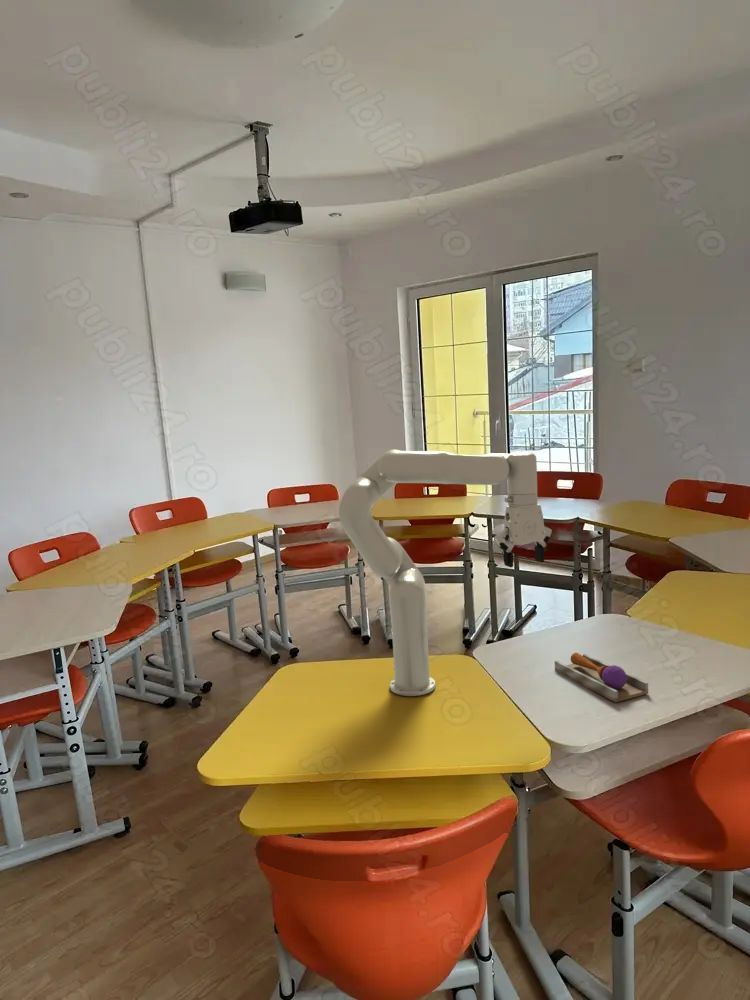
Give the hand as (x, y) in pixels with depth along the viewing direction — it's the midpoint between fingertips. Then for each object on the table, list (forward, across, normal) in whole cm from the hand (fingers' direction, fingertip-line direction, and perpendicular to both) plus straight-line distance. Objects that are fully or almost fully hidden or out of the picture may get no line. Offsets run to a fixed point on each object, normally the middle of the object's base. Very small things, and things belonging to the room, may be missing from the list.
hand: (524, 563), depth 177 cm
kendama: (+32, +16, -9) cm, 37 cm away
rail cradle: (+33, +17, -9) cm, 38 cm away
